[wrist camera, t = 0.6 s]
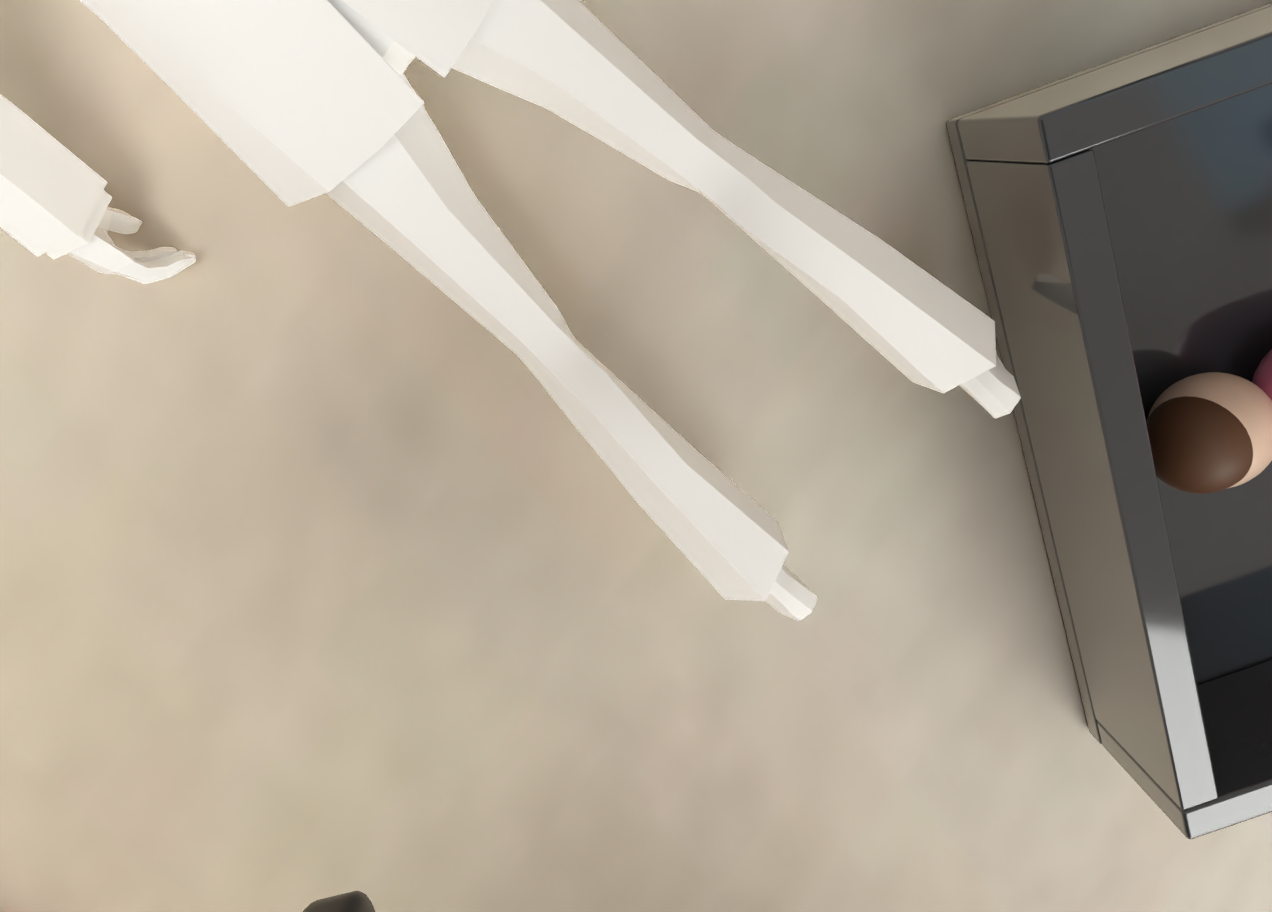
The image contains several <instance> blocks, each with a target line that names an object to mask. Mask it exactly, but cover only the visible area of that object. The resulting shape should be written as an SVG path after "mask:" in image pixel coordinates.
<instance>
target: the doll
mask: <svg viewBox="0 0 1272 912" xmlns="http://www.w3.org/2000/svg"><path fill="white" fill-rule="evenodd" d="M1146 424H1147V430H1148V435H1149V440H1150V445H1151V450H1152V455H1153V461H1154V466H1155V471H1156V476H1157V478H1159V479H1160V480H1161V481H1162V482H1163V483H1165V484H1167V485H1168V486H1170V487H1172V488H1174V489H1177V490H1180V491H1183V492H1187V493H1194V494H1207V493H1214V492H1218V491H1222V490H1224V489H1227V488H1232V487H1236V486H1238V485H1241V484H1243V483H1245V482H1247V481H1249V480H1251V479H1253V478H1254V477H1256V476H1257V475H1258V474H1260V473H1261V472H1262V471H1263V470H1264V469H1265V468H1266V467H1267V466H1268V465H1269V463H1270V462H1271V461H1272V349H1271V350H1270V351H1269V352H1268V353H1267V354H1266V356H1265V357H1264V358H1263V359H1262V361H1261V362H1260V364H1259V366H1258V367H1257V369H1256V371H1255V373H1254V376H1253V380H1252V382H1250V381H1249V380H1247V379H1244V378H1242V377H1239V376H1236V375H1232V374H1228V373H1220V372H1208V373H1201V374H1196V375H1192V376H1189V377H1186V378H1184V379H1182V380H1180V381H1178V382H1176V383H1174V384H1173V385H1171V386H1170V387H1168V388H1167V389H1166V390H1165V391H1164V392H1163V393H1162V394H1161V395H1160V396H1159V397H1158V399H1157V400H1156V401H1155V403H1154V404H1153V406H1152V408H1151V410H1150V412H1149V415H1148V418H1147V421H1146Z"/></svg>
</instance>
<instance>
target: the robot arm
mask: <svg viewBox="0 0 1272 912" xmlns="http://www.w3.org/2000/svg"><path fill="white" fill-rule="evenodd" d="M303 912H375V910H374V907H373V905H372V903H371V901H370V900H369V898H368V897H367V895H366V894H364V893H362V892H359V891H353V892H349V893H345V894H341V895H337V896H333V897H329V898H325V899H320V900H317V901H315V902H313V903H311V904H310V905H309V906H308V907H307V908H306V909H305V910H304V911H303Z"/></svg>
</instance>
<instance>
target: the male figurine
mask: <svg viewBox="0 0 1272 912" xmlns="http://www.w3.org/2000/svg"><path fill="white" fill-rule="evenodd" d="M79 1H80V2H82V3H83V4H84V5H85V6H86V7H87V8H89V9H90V10H91V11H92V12H93V13H94V14H96V15H97V16H98V17H99V18H100V19H101V20H102V21H103V22H104V23H105V24H106V25H107V26H108V27H109V28H110V29H111V30H112V31H113V32H114V33H115V34H116V35H117V36H118V37H119V38H120V39H121V40H122V41H123V42H124V43H125V44H126V45H127V46H128V47H129V48H130V49H131V50H132V51H133V52H135V53H136V54H137V55H138V56H139V57H140V58H141V59H142V60H143V61H144V62H145V63H146V64H147V65H148V66H149V67H150V68H151V69H152V70H153V71H154V72H155V73H156V74H157V75H158V76H159V77H160V78H161V79H162V80H163V81H164V82H165V83H166V84H167V85H168V86H169V87H170V88H171V89H172V90H173V91H174V92H175V93H176V94H177V95H178V96H179V97H180V98H181V99H182V100H183V101H184V102H185V103H186V104H187V105H188V106H189V107H190V108H191V109H192V110H193V111H194V112H195V113H196V114H197V115H198V116H199V117H200V118H201V119H202V120H203V121H204V122H205V123H206V124H207V125H208V126H209V127H210V128H211V130H212V131H213V132H214V133H215V134H216V135H217V136H218V137H219V138H220V139H221V140H222V141H223V142H224V143H225V144H226V145H227V146H228V147H229V148H230V149H231V150H232V151H233V152H234V153H235V154H236V155H237V156H238V157H239V158H240V159H241V160H242V161H243V162H244V163H245V164H246V165H247V166H248V167H249V168H250V169H251V170H252V171H253V172H254V173H255V174H256V175H257V176H258V177H259V178H260V179H261V180H262V181H263V182H264V183H265V184H266V185H267V186H268V187H269V188H270V189H271V190H272V191H273V192H274V193H275V194H276V195H277V196H278V197H279V198H280V199H281V200H282V201H283V202H284V203H285V204H286V205H287V206H288V207H290V206H293V205H295V204H298V203H301V202H303V201H306V200H309V199H312V198H314V197H317V196H320V195H322V194H326V195H328V196H329V197H330V198H331V199H333V200H334V201H335V202H336V203H337V204H339V205H340V206H341V207H342V208H343V209H345V210H346V211H347V212H348V213H349V214H351V215H352V216H353V217H354V218H356V219H357V220H358V221H359V222H360V223H362V224H363V225H364V226H365V227H366V228H368V229H369V230H370V231H371V232H373V233H374V234H375V235H376V236H377V237H379V238H380V239H381V240H382V241H383V242H385V243H386V244H387V245H388V246H390V247H391V248H392V249H393V250H394V251H395V252H397V253H398V254H399V255H400V256H401V257H402V258H404V259H405V260H406V261H407V262H408V263H409V264H411V265H412V266H413V267H414V268H415V269H416V270H418V271H419V272H420V273H421V274H422V275H424V276H425V277H426V278H427V279H428V280H429V281H431V282H432V283H433V284H434V285H435V286H436V287H438V288H439V289H440V290H441V291H442V292H443V293H445V294H446V295H447V296H448V297H449V298H450V299H452V300H453V301H454V302H455V303H456V304H457V305H459V306H460V307H461V308H462V309H463V310H464V311H466V312H467V313H468V314H469V315H470V316H471V317H473V318H474V319H475V320H476V321H477V322H479V323H480V324H481V325H482V326H483V327H484V328H486V329H487V330H488V331H489V332H490V333H491V334H493V335H494V336H495V337H496V338H497V339H498V340H500V341H501V342H502V343H503V344H504V345H505V346H507V347H508V348H509V349H510V350H511V351H512V352H514V353H515V354H516V355H517V356H518V357H519V358H520V359H521V361H522V362H523V363H524V364H525V365H526V366H527V368H528V369H529V370H530V371H531V372H532V373H533V375H534V376H535V377H536V378H537V380H538V381H539V382H540V383H541V385H542V386H543V387H544V388H545V390H546V391H547V392H548V393H549V395H550V396H551V397H552V398H553V400H554V401H555V402H556V403H557V405H558V406H559V407H560V408H561V410H562V411H563V412H564V413H565V415H566V416H567V417H568V418H569V420H570V421H571V422H572V423H573V425H574V426H575V427H576V428H577V430H578V431H579V432H580V433H581V435H582V436H583V437H584V438H585V439H586V441H587V442H588V443H589V444H590V446H591V447H592V448H593V449H594V450H595V452H596V453H597V454H598V455H599V457H600V458H601V459H602V460H603V461H604V463H605V464H606V465H607V466H608V468H609V469H610V470H611V471H612V472H613V474H614V475H615V476H616V477H617V479H618V480H619V481H620V482H621V483H622V485H623V486H624V487H625V488H626V490H627V491H628V492H629V493H630V494H631V496H632V497H633V498H634V499H635V501H636V502H637V503H638V504H639V505H640V506H641V507H642V509H643V510H644V511H645V512H646V513H647V514H648V515H649V516H650V517H651V518H652V520H653V521H654V522H655V523H656V524H657V525H658V526H659V527H660V528H661V530H662V531H663V532H664V533H665V534H666V535H667V536H668V537H669V538H670V540H671V541H672V542H673V543H674V544H675V545H676V546H677V547H678V548H679V550H680V551H681V552H682V553H683V554H684V555H685V556H686V557H687V558H688V559H689V561H690V562H691V563H692V564H693V565H694V566H695V567H696V568H697V569H698V571H699V572H700V573H701V574H702V575H703V576H704V577H705V578H706V579H707V581H708V582H709V583H710V584H711V585H712V586H713V587H714V588H715V589H716V591H717V592H718V593H719V594H720V595H721V596H722V597H723V598H724V599H725V600H746V601H764V602H765V603H767V604H769V605H770V606H772V607H773V608H774V609H775V610H776V611H777V612H779V613H780V614H782V615H785V616H788V617H790V618H793V619H796V620H798V621H800V620H802V619H803V618H804V617H806V616H807V615H809V614H810V613H812V612H813V610H814V607H815V604H816V601H817V598H818V597H817V596H816V595H815V594H814V593H813V592H812V591H811V590H810V589H809V588H808V587H807V586H806V585H805V584H804V583H803V582H802V581H801V580H800V579H799V578H798V577H797V576H796V575H795V574H793V573H792V572H791V571H790V570H789V569H788V568H787V567H785V566H784V565H783V563H784V561H785V559H786V557H787V555H788V553H789V551H788V548H787V545H786V543H785V540H784V537H783V535H782V532H781V529H780V527H779V524H778V522H777V521H776V520H775V519H774V518H773V517H772V516H771V515H769V514H768V513H767V512H766V511H765V510H764V509H763V508H761V507H760V506H759V505H758V504H757V503H756V502H755V501H754V500H752V499H751V498H750V497H749V496H748V495H747V494H746V493H745V492H743V491H742V490H741V489H740V488H739V487H738V486H737V485H735V484H734V483H733V482H732V481H731V480H730V479H729V478H728V477H726V476H725V475H724V474H723V473H722V472H721V471H720V470H719V469H717V468H716V467H715V466H714V465H713V464H712V463H711V462H710V461H708V460H707V459H706V458H705V457H704V456H703V455H702V454H700V453H699V452H698V451H697V450H696V449H695V448H694V447H693V446H691V445H690V444H689V443H688V442H687V441H686V440H685V439H684V438H683V437H682V436H681V435H679V434H678V433H677V432H676V431H675V430H674V429H673V428H672V427H671V426H670V425H668V424H667V423H666V422H665V421H664V420H663V419H662V418H661V417H660V416H659V415H658V414H656V413H655V412H654V411H653V410H652V409H651V408H650V407H649V406H648V405H647V404H646V403H644V402H643V401H642V400H641V399H640V398H639V397H638V396H637V395H636V394H635V393H634V392H632V391H631V390H630V389H629V388H628V387H627V386H626V385H625V384H624V383H623V382H622V381H620V380H619V379H618V378H617V377H616V376H615V375H614V374H613V373H612V372H611V371H610V370H608V369H607V368H606V367H605V366H604V365H603V364H602V363H601V362H600V361H599V360H598V359H596V358H595V357H594V356H593V355H592V354H591V353H590V352H589V351H588V350H587V349H586V348H584V347H583V346H582V345H581V344H580V343H579V342H578V341H577V340H576V339H575V337H574V336H573V335H572V333H571V332H570V330H569V328H568V326H567V324H566V322H565V321H564V319H563V317H562V315H561V313H560V311H559V309H558V308H557V306H556V305H555V304H554V302H553V301H552V300H551V298H550V297H549V296H548V294H547V293H546V291H545V290H544V289H543V287H542V286H541V285H540V283H539V282H538V281H537V279H536V278H535V277H534V275H533V274H532V272H531V271H530V270H529V268H528V267H527V266H526V264H525V263H524V262H523V260H522V259H521V257H520V256H519V255H518V253H517V252H516V251H515V249H514V248H513V247H512V245H511V244H510V243H509V241H508V240H507V238H506V237H505V236H504V234H503V233H502V232H501V230H500V229H499V228H498V226H497V225H496V223H495V222H494V221H493V219H492V218H491V217H490V215H489V214H488V213H487V211H486V210H485V209H484V207H483V206H482V204H481V203H480V202H479V200H478V199H477V198H476V196H475V195H474V193H473V191H472V190H471V188H470V186H469V184H468V183H467V181H466V179H465V177H464V175H463V174H462V172H461V170H460V168H459V167H458V165H457V163H456V161H455V160H454V158H453V156H452V154H451V153H450V151H449V149H448V147H447V145H446V144H445V142H444V140H443V138H442V137H441V135H440V133H439V132H438V130H437V128H436V127H435V125H434V123H433V122H432V120H431V118H430V117H429V115H428V113H427V112H426V110H425V108H424V106H423V104H424V103H425V102H424V101H423V99H422V98H421V97H420V96H419V95H418V94H417V93H416V92H415V91H414V90H413V88H412V86H411V85H410V83H409V81H408V80H407V78H406V76H405V75H404V71H405V70H406V68H407V67H408V65H409V64H410V63H411V61H412V60H413V59H414V58H415V57H417V58H418V59H420V60H421V61H422V62H424V63H425V64H426V65H428V66H429V67H430V68H432V69H433V70H434V71H436V72H437V73H438V74H440V75H441V76H442V77H444V78H445V77H446V75H447V74H448V72H449V71H450V69H451V68H453V69H455V70H457V71H460V72H462V73H464V74H466V75H469V76H471V77H473V78H475V79H477V80H480V81H482V82H484V83H486V84H489V85H491V86H494V87H496V88H498V89H501V90H503V91H505V92H508V93H510V94H513V95H515V96H517V97H520V98H522V99H524V100H527V101H529V102H532V103H534V104H536V105H539V106H541V107H543V108H546V109H548V110H549V111H551V112H553V113H554V114H556V115H558V116H560V117H561V118H563V119H565V120H566V121H568V122H570V123H572V124H573V125H575V126H577V127H578V128H580V129H582V130H583V131H585V132H587V133H589V134H590V135H592V136H594V137H595V138H597V139H599V140H600V141H602V142H604V143H606V144H607V145H609V146H611V147H612V148H614V149H616V150H617V151H619V152H621V153H623V154H624V155H626V156H628V157H629V158H631V159H633V160H634V161H636V162H638V163H640V164H641V165H643V166H645V167H646V168H648V169H650V170H651V171H653V172H655V173H657V174H658V175H660V176H662V177H663V178H665V179H667V180H669V181H671V182H673V183H676V184H679V185H681V186H684V187H686V188H689V189H692V190H694V191H697V192H699V193H700V194H701V195H703V196H704V197H706V198H707V199H708V200H709V201H710V202H711V203H713V204H714V205H715V206H716V207H717V208H718V209H719V210H720V211H721V212H723V213H724V214H725V215H726V216H727V217H728V218H729V219H730V220H732V221H733V222H734V223H735V224H736V225H737V226H738V227H739V228H741V229H742V230H743V231H744V232H745V233H746V234H747V235H748V236H750V237H751V238H752V239H753V240H754V241H755V242H756V243H757V244H759V245H760V246H761V247H762V248H763V249H764V250H765V251H766V252H767V253H769V254H770V255H771V256H772V257H773V258H774V259H775V260H776V261H778V262H779V263H780V264H781V265H782V266H783V267H784V268H785V269H787V270H788V271H789V272H790V273H791V274H792V275H793V276H794V277H796V278H797V279H798V280H799V281H800V282H801V283H802V284H803V285H804V286H806V287H807V288H808V289H809V290H810V291H811V292H812V293H813V294H815V295H816V296H817V297H818V298H819V299H820V300H821V301H822V302H824V303H825V304H826V305H827V306H828V307H829V308H830V309H831V310H832V311H834V312H835V313H836V314H837V315H838V316H839V317H840V318H841V319H842V320H844V321H845V322H846V323H847V324H848V325H849V326H850V327H851V328H852V329H854V330H855V331H856V332H857V333H858V334H859V335H860V336H861V337H862V338H864V339H865V340H866V341H867V342H868V343H869V344H870V345H871V346H872V347H874V348H875V349H876V350H877V351H878V352H879V353H880V354H881V355H882V356H884V357H885V358H886V359H887V360H888V361H889V362H890V363H891V364H892V365H894V366H895V367H896V368H897V369H898V370H899V371H900V372H901V373H902V374H904V375H905V376H906V377H907V378H908V379H909V380H910V381H911V382H913V383H916V384H918V385H921V386H924V387H927V388H929V389H932V390H935V391H938V392H941V393H945V392H947V391H949V390H951V389H953V388H955V387H957V386H960V387H961V388H962V389H963V390H965V391H966V392H967V393H968V394H969V395H970V396H971V397H973V398H974V399H975V400H976V401H977V402H978V403H979V404H980V405H981V406H983V407H984V408H985V409H986V410H987V411H988V412H989V413H990V414H991V415H992V416H993V417H994V419H996V418H999V417H1001V416H1004V415H1007V414H1009V413H1011V411H1012V410H1013V409H1014V407H1015V406H1016V404H1017V403H1018V402H1019V400H1020V399H1021V397H1020V394H1019V391H1018V388H1017V385H1016V382H1015V379H1014V376H1013V375H1011V374H1010V373H1009V372H1008V371H1007V370H1006V369H1005V367H1004V365H1003V364H1002V362H1001V360H1000V359H999V357H998V355H997V352H996V345H995V321H994V320H992V319H991V318H990V317H988V316H987V315H986V314H984V313H983V312H981V311H980V310H979V309H977V308H976V307H974V306H973V305H972V304H970V303H969V302H967V301H966V300H965V299H963V298H962V297H961V296H959V295H958V294H956V293H955V292H954V291H952V290H951V289H949V288H948V287H947V286H945V285H944V284H942V283H941V282H940V281H938V280H937V279H936V278H934V277H933V276H931V275H930V274H929V273H927V272H926V271H924V270H923V269H922V268H920V267H919V266H917V265H916V264H915V263H913V262H912V261H911V260H909V259H908V258H906V257H905V256H904V255H902V254H901V253H899V252H898V251H897V250H895V249H894V248H892V247H891V246H890V245H888V244H887V243H886V242H884V241H883V240H881V239H880V238H878V237H877V236H875V235H874V234H872V233H871V232H869V231H867V230H866V229H864V228H863V227H861V226H860V225H858V224H857V223H855V222H853V221H852V220H850V219H849V218H847V217H846V216H844V215H843V214H841V213H840V212H838V211H836V210H835V209H833V208H832V207H830V206H829V205H827V204H826V203H824V202H823V201H821V200H819V199H818V198H816V197H815V196H813V195H812V194H810V193H809V192H807V191H805V190H804V189H802V188H801V187H799V186H798V185H796V184H795V183H793V182H792V181H790V180H788V179H787V178H785V177H784V176H782V175H781V174H779V173H778V172H776V171H774V170H773V169H771V168H770V167H768V166H767V165H765V164H764V163H762V162H760V161H759V160H757V159H756V158H754V157H753V156H751V155H750V154H748V153H746V152H745V151H743V150H742V149H740V148H739V147H737V146H736V145H734V144H733V143H731V142H730V141H728V140H727V139H725V138H724V137H723V136H721V135H720V134H718V133H717V132H715V131H714V130H713V129H712V128H711V127H710V126H709V125H708V124H706V123H705V122H704V121H703V120H702V119H701V118H700V117H699V116H698V115H697V114H696V113H695V112H694V111H693V110H692V109H691V108H690V107H689V106H688V105H687V104H686V103H685V102H684V101H683V100H682V99H681V98H679V97H678V96H677V95H676V94H675V93H674V92H673V91H672V90H671V89H670V88H669V87H668V86H667V85H666V84H665V83H664V82H663V81H662V80H661V79H660V78H659V77H658V76H657V75H656V74H655V73H653V72H652V71H651V70H650V69H649V68H648V67H647V66H646V65H645V64H644V63H643V62H642V61H641V60H640V59H639V58H638V57H637V56H636V55H635V54H634V53H633V52H632V51H631V50H630V49H629V48H628V47H626V46H625V45H624V44H623V43H622V42H621V41H620V40H619V39H618V38H617V37H616V36H615V35H614V34H613V33H612V32H611V31H610V30H609V29H608V28H607V27H606V26H605V25H604V24H603V23H602V22H601V21H599V20H598V19H597V18H596V17H595V16H594V15H593V14H592V13H591V12H590V11H589V10H588V9H587V8H586V7H585V6H584V5H583V4H582V3H581V2H580V1H579V0H79ZM106 184H107V181H106V180H104V179H103V178H102V177H101V176H99V175H98V174H97V173H96V172H95V171H93V170H92V169H91V168H90V167H89V166H87V165H86V164H85V163H84V162H83V161H81V160H80V159H79V158H78V157H77V156H75V155H74V154H73V153H72V152H70V151H69V150H68V149H67V148H66V147H64V146H63V145H62V144H61V143H60V142H58V141H57V140H56V139H55V138H54V137H52V136H51V135H50V134H49V133H48V132H46V131H45V130H44V129H43V128H42V127H40V126H39V125H38V124H37V123H36V122H35V121H33V120H32V119H31V118H30V117H29V116H27V115H26V114H25V113H24V112H23V111H21V110H20V109H19V108H18V107H16V106H15V105H14V104H12V103H11V102H10V101H9V100H7V99H6V98H5V97H4V96H2V95H1V94H0V228H2V229H3V230H4V231H5V232H6V233H8V234H9V235H10V236H11V237H13V238H14V239H15V240H16V241H18V242H19V243H20V244H21V245H22V246H24V247H25V248H26V249H28V250H29V251H30V252H31V253H33V254H34V255H35V256H37V257H38V256H40V255H42V254H44V253H46V254H47V255H48V256H50V257H51V258H52V259H56V258H58V257H61V256H63V255H65V254H68V255H70V256H72V257H74V258H75V259H77V260H79V261H81V262H82V263H84V264H85V265H87V266H88V267H90V268H92V269H93V270H95V271H97V272H99V273H102V274H115V275H121V276H124V277H127V278H129V279H132V280H135V281H137V282H140V283H143V284H149V283H153V282H156V281H160V280H163V279H167V278H170V277H172V276H174V275H176V274H177V273H179V272H181V271H182V270H184V269H185V268H187V267H189V266H190V265H192V264H193V263H195V262H196V258H195V254H194V253H193V252H192V251H184V250H180V251H177V250H176V249H175V247H164V246H163V247H159V248H156V249H152V250H146V251H126V250H124V249H121V248H119V247H116V246H115V244H114V243H113V241H112V240H111V238H110V237H109V235H108V234H107V232H108V231H114V232H117V233H121V234H125V235H126V234H132V233H137V231H138V229H139V228H140V226H141V224H142V222H143V221H141V220H139V219H137V218H135V217H133V216H132V215H130V214H128V213H126V212H124V211H122V210H120V209H115V208H111V207H108V205H109V203H110V201H111V199H112V196H110V195H109V194H108V193H107V192H106V191H104V188H105V186H106Z"/></svg>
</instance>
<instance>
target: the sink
mask: <svg viewBox="0 0 1272 912" xmlns="http://www.w3.org/2000/svg"><path fill="white" fill-rule="evenodd" d="M946 126H947V130H948V134H949V138H950V143H951V147H952V151H953V155H954V160H955V164H956V168H957V172H958V176H959V181H960V185H961V189H962V193H963V198H964V202H965V206H966V210H967V215H968V219H969V223H970V227H971V232H972V236H973V240H974V244H975V249H976V253H977V257H978V261H979V265H980V270H981V274H982V278H983V282H984V287H985V291H986V295H987V299H988V304H989V308H990V312H991V316H992V320H994V321H995V333H996V337H997V342H998V346H999V350H1000V354H1001V359H1002V363H1003V365H1004V367H1005V369H1006V370H1007V371H1008V372H1009V373H1010V374H1011V375H1013V376H1014V379H1015V382H1016V385H1017V388H1018V391H1019V394H1020V397H1021V399H1020V400H1019V402H1018V403H1017V404H1016V406H1015V407H1014V409H1013V410H1014V414H1015V418H1016V422H1017V426H1018V431H1019V435H1020V439H1021V443H1022V448H1023V452H1024V456H1025V460H1026V465H1027V469H1028V473H1029V477H1030V482H1031V486H1032V490H1033V494H1034V498H1035V503H1036V507H1037V511H1038V515H1039V520H1040V524H1041V528H1042V532H1043V537H1044V541H1045V545H1046V549H1047V554H1048V558H1049V562H1050V566H1051V570H1052V575H1053V579H1054V583H1055V587H1056V592H1057V596H1058V600H1059V604H1060V609H1061V613H1062V617H1063V621H1064V626H1065V630H1066V634H1067V638H1068V643H1069V647H1070V651H1071V655H1072V659H1073V664H1074V668H1075V672H1076V676H1077V681H1078V685H1079V689H1080V693H1081V698H1082V702H1083V706H1084V710H1085V715H1086V719H1087V723H1088V727H1089V731H1090V733H1091V734H1092V735H1093V736H1094V737H1095V738H1096V739H1097V740H1098V741H1099V743H1101V744H1102V745H1103V746H1104V747H1105V749H1106V750H1107V751H1108V752H1109V753H1110V754H1111V755H1112V756H1113V757H1114V758H1115V759H1116V761H1117V762H1118V763H1119V764H1120V765H1121V766H1122V767H1123V768H1124V769H1125V770H1126V772H1127V773H1128V774H1129V775H1130V776H1131V777H1132V778H1133V779H1134V780H1135V781H1136V782H1137V784H1138V785H1139V786H1140V787H1141V788H1142V789H1143V790H1144V791H1145V792H1146V793H1147V795H1148V796H1149V797H1150V798H1151V799H1152V800H1153V801H1154V802H1155V803H1156V804H1157V805H1158V807H1159V808H1160V809H1161V810H1162V811H1163V812H1164V813H1165V814H1166V815H1167V816H1168V818H1169V819H1170V820H1171V821H1172V822H1173V823H1174V824H1175V825H1176V826H1177V827H1178V828H1179V830H1180V831H1181V832H1182V833H1183V834H1184V835H1185V836H1186V837H1187V838H1188V839H1194V838H1197V837H1200V836H1203V835H1206V834H1209V833H1211V832H1214V831H1217V830H1220V829H1223V828H1226V827H1229V826H1232V825H1235V824H1238V823H1241V822H1244V821H1246V820H1249V819H1252V818H1255V817H1258V816H1261V815H1264V814H1267V813H1270V812H1272V461H1271V462H1270V463H1269V465H1268V466H1267V467H1266V468H1265V469H1264V470H1263V471H1262V472H1261V473H1260V474H1258V475H1257V476H1256V477H1254V478H1253V479H1251V480H1249V481H1247V482H1245V483H1243V484H1241V485H1238V486H1236V487H1232V488H1227V489H1224V490H1222V491H1218V492H1214V493H1207V494H1194V493H1187V492H1183V491H1180V490H1177V489H1174V488H1172V487H1170V486H1168V485H1167V484H1165V483H1163V482H1162V481H1161V480H1160V479H1159V478H1157V476H1156V471H1155V466H1154V461H1153V455H1152V450H1151V445H1150V440H1149V435H1148V430H1147V424H1146V421H1147V418H1148V415H1149V412H1150V410H1151V408H1152V406H1153V404H1154V403H1155V401H1156V400H1157V399H1158V397H1159V396H1160V395H1161V394H1162V393H1163V392H1164V391H1165V390H1166V389H1167V388H1168V387H1170V386H1171V385H1173V384H1174V383H1176V382H1178V381H1180V380H1182V379H1184V378H1186V377H1189V376H1192V375H1196V374H1201V373H1208V372H1220V373H1228V374H1232V375H1236V376H1239V377H1242V378H1244V379H1247V380H1249V381H1250V382H1252V380H1253V376H1254V373H1255V371H1256V369H1257V367H1258V366H1259V364H1260V362H1261V361H1262V359H1263V358H1264V357H1265V356H1266V354H1267V353H1268V352H1269V351H1270V350H1271V349H1272V3H1269V4H1266V5H1263V6H1261V7H1258V8H1255V9H1252V10H1250V11H1247V12H1244V13H1241V14H1239V15H1236V16H1233V17H1230V18H1228V19H1225V20H1222V21H1219V22H1217V23H1214V24H1211V25H1208V26H1206V27H1203V28H1200V29H1197V30H1194V31H1192V32H1189V33H1186V34H1183V35H1181V36H1178V37H1175V38H1172V39H1170V40H1167V41H1164V42H1161V43H1159V44H1156V45H1153V46H1150V47H1148V48H1145V49H1142V50H1139V51H1137V52H1134V53H1131V54H1128V55H1126V56H1123V57H1120V58H1117V59H1115V60H1112V61H1109V62H1106V63H1104V64H1101V65H1098V66H1095V67H1093V68H1090V69H1087V70H1084V71H1082V72H1079V73H1076V74H1073V75H1070V76H1068V77H1065V78H1062V79H1059V80H1057V81H1054V82H1051V83H1048V84H1046V85H1043V86H1040V87H1037V88H1035V89H1032V90H1029V91H1026V92H1024V93H1021V94H1018V95H1015V96H1013V97H1010V98H1007V99H1004V100H1002V101H999V102H996V103H993V104H991V105H988V106H985V107H982V108H980V109H977V110H974V111H971V112H969V113H966V114H963V115H960V116H958V117H955V118H952V119H949V120H948V121H947V122H946Z"/></svg>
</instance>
